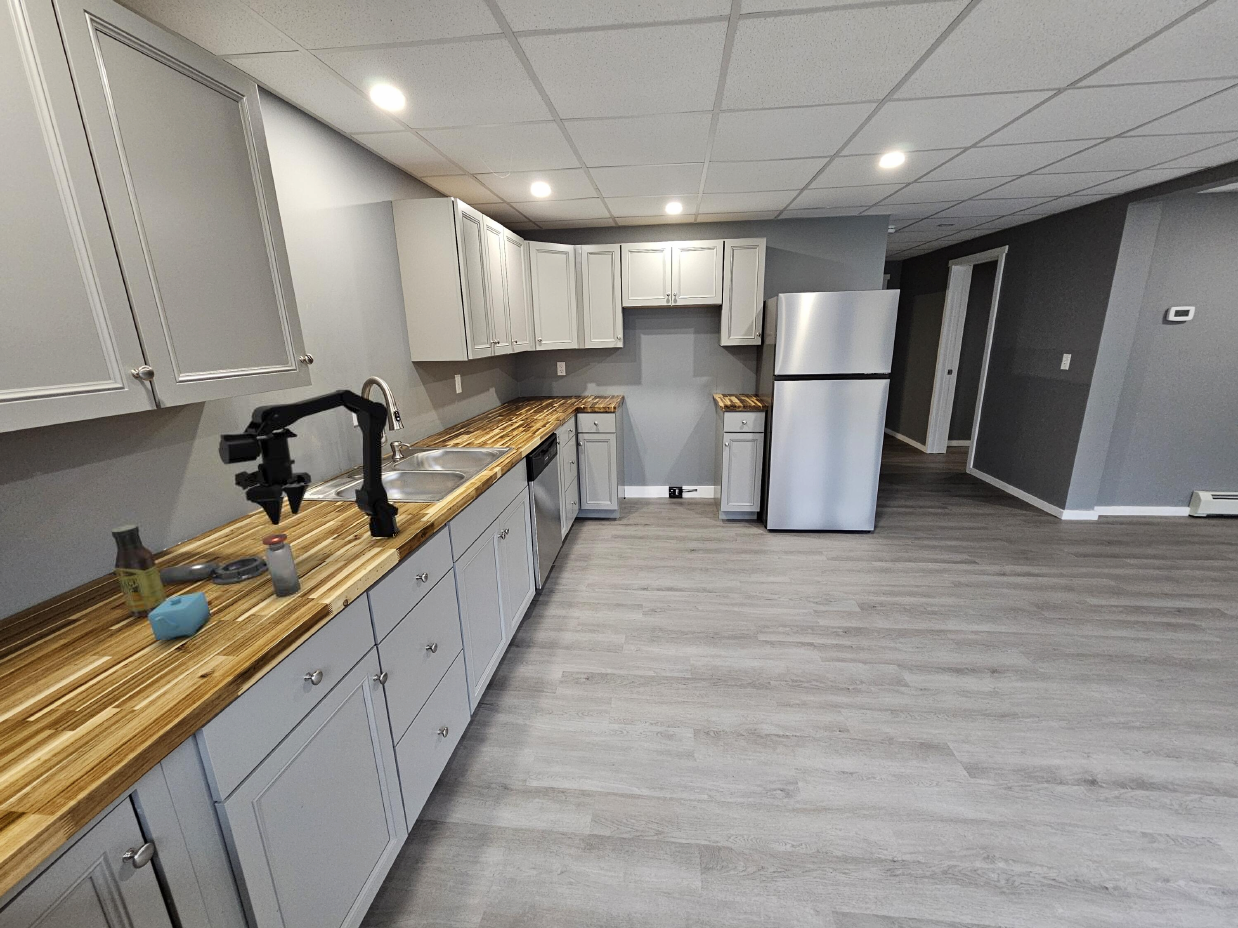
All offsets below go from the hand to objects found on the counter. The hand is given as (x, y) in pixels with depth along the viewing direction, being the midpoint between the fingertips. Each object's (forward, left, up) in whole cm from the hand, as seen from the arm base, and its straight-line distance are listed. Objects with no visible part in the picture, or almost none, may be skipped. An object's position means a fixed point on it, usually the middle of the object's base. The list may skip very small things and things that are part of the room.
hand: (285, 519), depth 121 cm
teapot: (+11, +26, -14) cm, 31 cm away
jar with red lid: (-3, +13, -14) cm, 19 cm away
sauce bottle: (+25, +13, -14) cm, 31 cm away
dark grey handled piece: (+19, -2, -14) cm, 24 cm away
